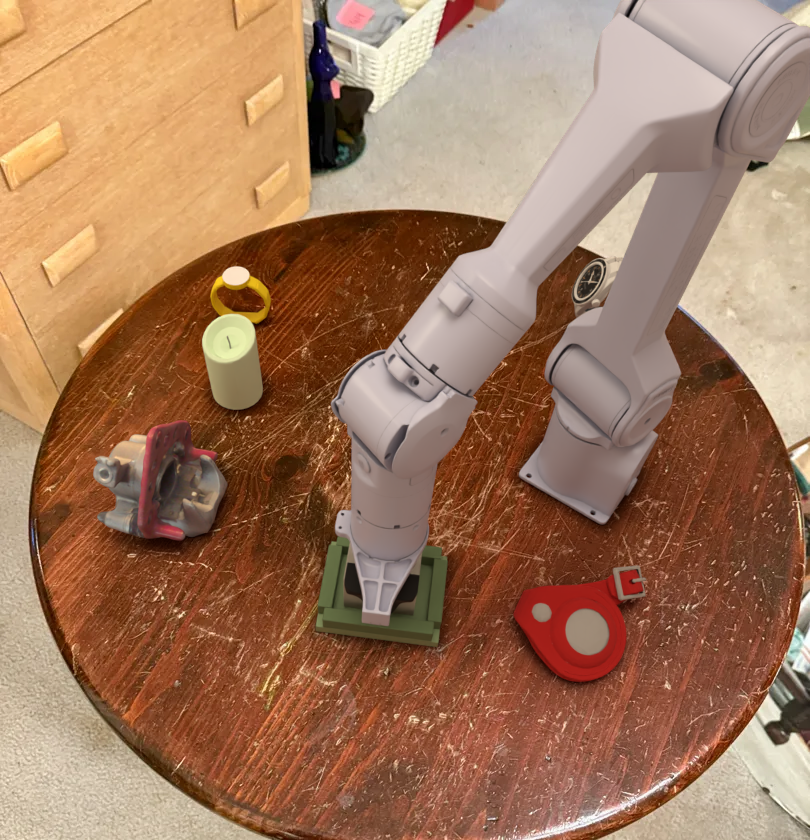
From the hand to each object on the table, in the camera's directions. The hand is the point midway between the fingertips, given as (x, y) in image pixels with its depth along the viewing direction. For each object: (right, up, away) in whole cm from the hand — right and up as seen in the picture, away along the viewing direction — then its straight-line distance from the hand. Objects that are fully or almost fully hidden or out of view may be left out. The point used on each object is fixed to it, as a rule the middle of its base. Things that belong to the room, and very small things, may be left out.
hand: (383, 583), depth 69 cm
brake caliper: (-20, +7, +6) cm, 21 cm away
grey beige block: (0, -1, +1) cm, 1 cm away
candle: (-15, +19, +13) cm, 27 cm away
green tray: (0, -1, +2) cm, 2 cm away
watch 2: (-15, +27, +18) cm, 36 cm away
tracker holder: (+17, -4, +2) cm, 18 cm away
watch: (+22, +25, +19) cm, 38 cm away
